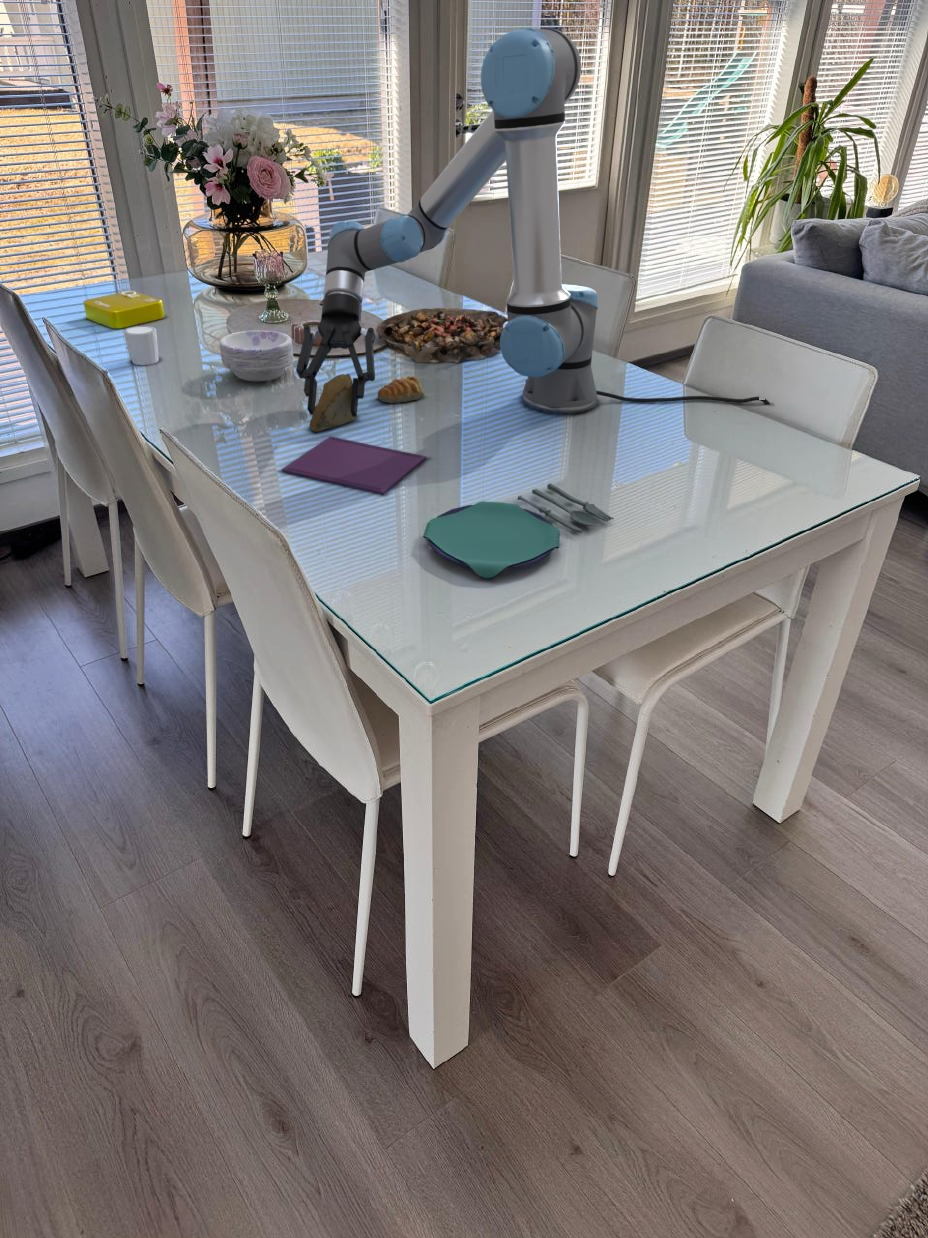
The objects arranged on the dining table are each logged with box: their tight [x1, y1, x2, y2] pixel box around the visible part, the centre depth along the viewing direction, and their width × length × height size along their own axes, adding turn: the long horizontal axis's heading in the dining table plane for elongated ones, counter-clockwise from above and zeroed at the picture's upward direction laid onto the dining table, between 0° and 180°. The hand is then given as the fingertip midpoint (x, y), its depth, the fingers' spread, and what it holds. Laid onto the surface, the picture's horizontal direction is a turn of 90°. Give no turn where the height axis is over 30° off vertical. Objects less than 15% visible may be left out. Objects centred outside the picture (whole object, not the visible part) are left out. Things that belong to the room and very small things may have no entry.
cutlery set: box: [422, 482, 615, 579], centre depth 137 cm, size 20×30×2 cm, turn 128°
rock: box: [308, 373, 357, 433], centre depth 171 cm, size 11×9×10 cm
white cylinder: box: [123, 325, 159, 366], centre depth 199 cm, size 7×7×7 cm
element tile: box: [82, 290, 166, 330], centre depth 226 cm, size 15×15×5 cm
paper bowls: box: [219, 329, 294, 383], centre depth 192 cm, size 15×15×8 cm
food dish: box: [375, 307, 508, 364], centre depth 215 cm, size 35×33×8 cm
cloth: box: [281, 436, 427, 495], centre depth 157 cm, size 20×16×1 cm
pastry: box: [377, 376, 424, 404], centre depth 183 cm, size 9×7×4 cm
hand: (332, 412), depth 168 cm, fingers closed on rock, 7 cm apart
